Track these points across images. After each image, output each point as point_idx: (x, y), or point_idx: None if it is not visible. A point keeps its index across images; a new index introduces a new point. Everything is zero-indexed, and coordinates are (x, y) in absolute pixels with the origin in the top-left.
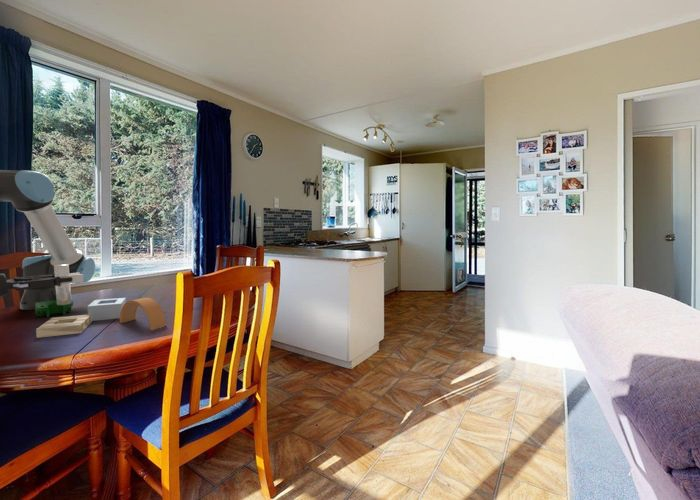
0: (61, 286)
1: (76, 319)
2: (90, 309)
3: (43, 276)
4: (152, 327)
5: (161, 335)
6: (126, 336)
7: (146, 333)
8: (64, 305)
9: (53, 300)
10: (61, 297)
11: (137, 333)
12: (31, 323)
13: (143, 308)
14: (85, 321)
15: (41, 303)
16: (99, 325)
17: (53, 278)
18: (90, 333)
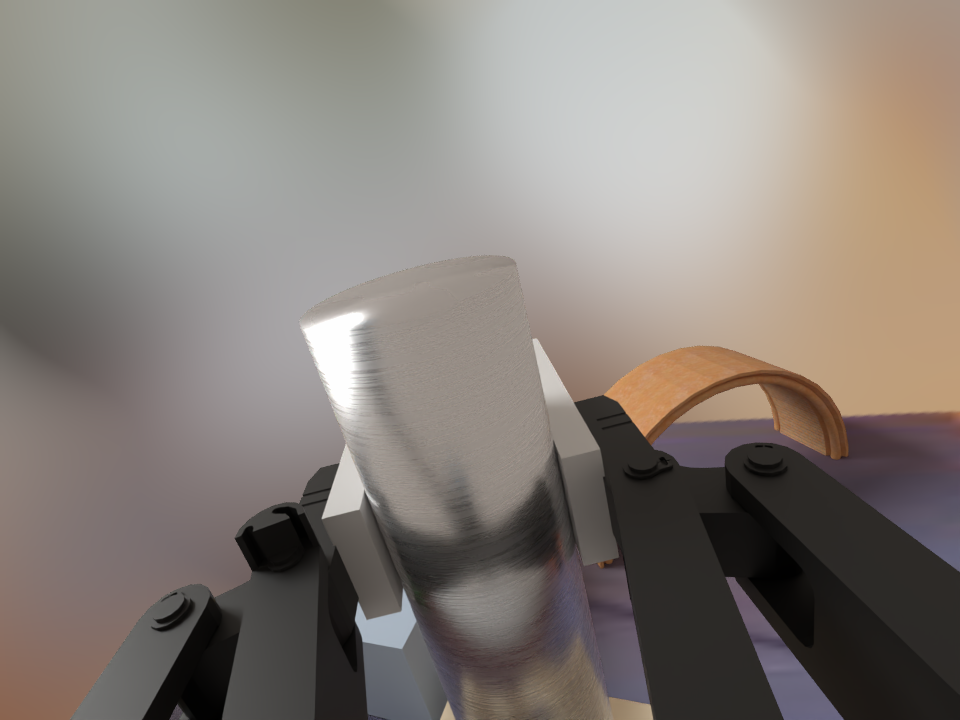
0: (580, 589)
1: None
2: (418, 651)
3: (301, 706)
4: (843, 440)
5: (951, 426)
6: (953, 530)
7: (899, 467)
8: None
9: None
10: (604, 713)
11: (891, 495)
12: None
13: (794, 381)
14: (636, 709)
15: None
16: (608, 662)
17: (796, 488)
18: (825, 712)
